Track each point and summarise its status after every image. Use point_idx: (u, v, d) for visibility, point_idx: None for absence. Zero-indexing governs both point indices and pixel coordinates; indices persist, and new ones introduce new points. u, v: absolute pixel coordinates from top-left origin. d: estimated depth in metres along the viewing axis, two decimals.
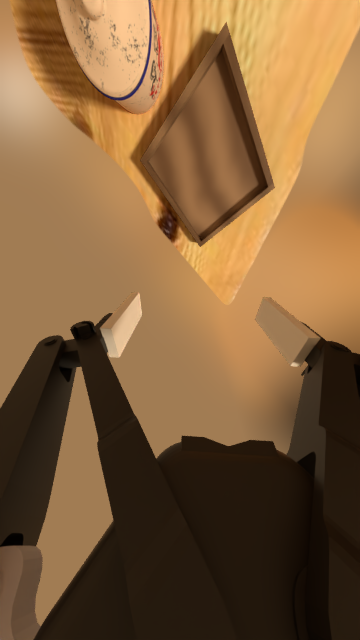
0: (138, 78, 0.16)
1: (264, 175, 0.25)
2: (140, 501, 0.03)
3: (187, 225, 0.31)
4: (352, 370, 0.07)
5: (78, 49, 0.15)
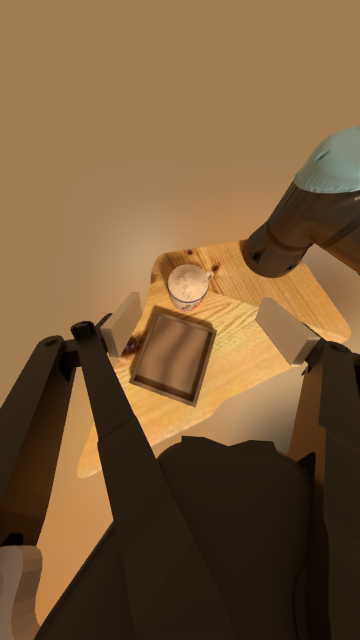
0: (181, 299, 0.30)
1: (195, 393, 0.32)
2: (140, 501, 0.03)
3: (138, 360, 0.34)
4: (351, 370, 0.07)
5: (173, 273, 0.31)
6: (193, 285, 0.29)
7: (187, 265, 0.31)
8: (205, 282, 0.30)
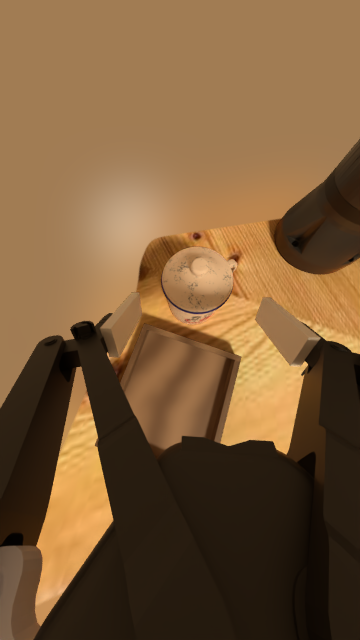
0: (185, 308, 0.17)
1: None
2: (140, 501, 0.03)
3: None
4: (352, 370, 0.07)
5: (172, 262, 0.18)
6: (209, 282, 0.16)
7: (196, 248, 0.18)
8: (228, 278, 0.17)
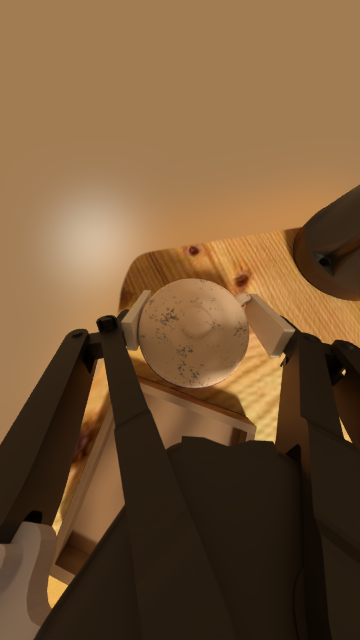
0: (174, 382, 0.10)
1: None
2: (140, 501, 0.03)
3: (73, 504, 0.14)
4: (323, 358, 0.08)
5: (154, 305, 0.11)
6: (211, 346, 0.10)
7: (192, 282, 0.12)
8: (242, 332, 0.11)
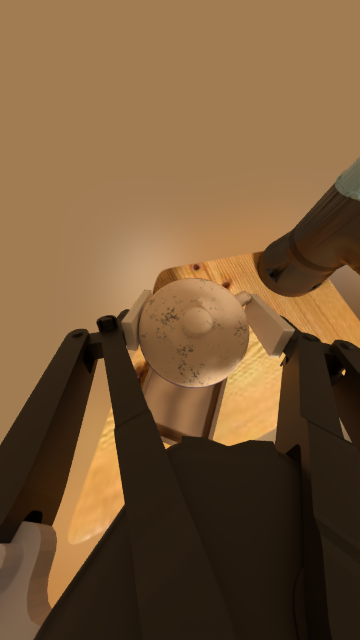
0: (174, 382, 0.10)
1: None
2: (140, 501, 0.03)
3: None
4: (322, 358, 0.08)
5: (154, 304, 0.11)
6: (212, 345, 0.10)
7: (192, 282, 0.12)
8: (242, 331, 0.11)
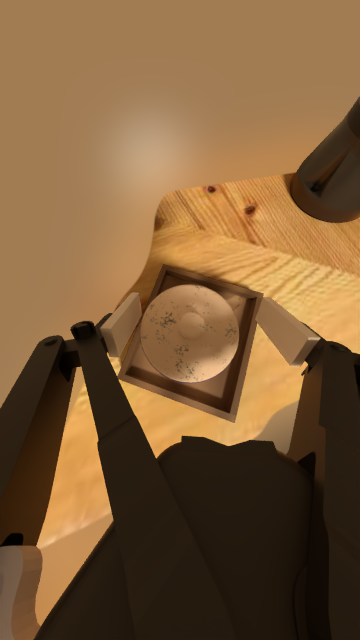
0: (172, 378, 0.12)
1: (232, 397, 0.18)
2: (140, 501, 0.03)
3: (134, 341, 0.20)
4: (352, 370, 0.07)
5: (154, 309, 0.13)
6: (205, 345, 0.11)
7: (188, 288, 0.13)
8: (232, 333, 0.12)
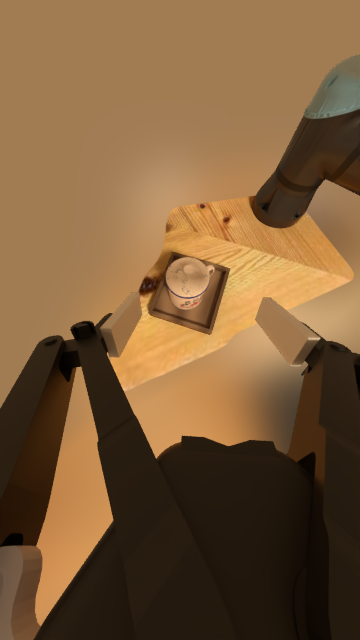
0: (180, 295, 0.28)
1: (211, 322, 0.34)
2: (140, 501, 0.03)
3: (157, 293, 0.36)
4: (352, 370, 0.07)
5: (172, 267, 0.28)
6: (193, 279, 0.27)
7: (187, 258, 0.29)
8: (206, 276, 0.28)
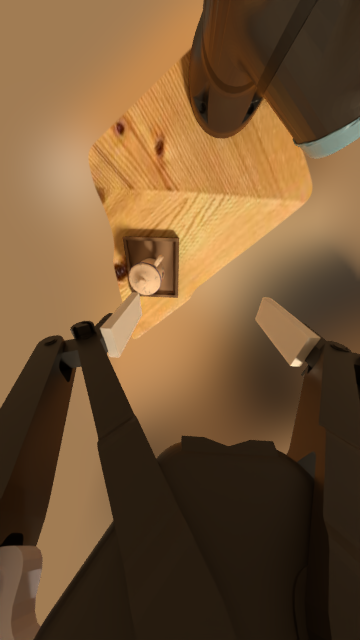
0: (145, 294, 0.42)
1: None
2: (140, 501, 0.03)
3: None
4: (352, 370, 0.07)
5: (131, 277, 0.39)
6: (149, 285, 0.39)
7: (137, 267, 0.37)
8: (157, 278, 0.38)
